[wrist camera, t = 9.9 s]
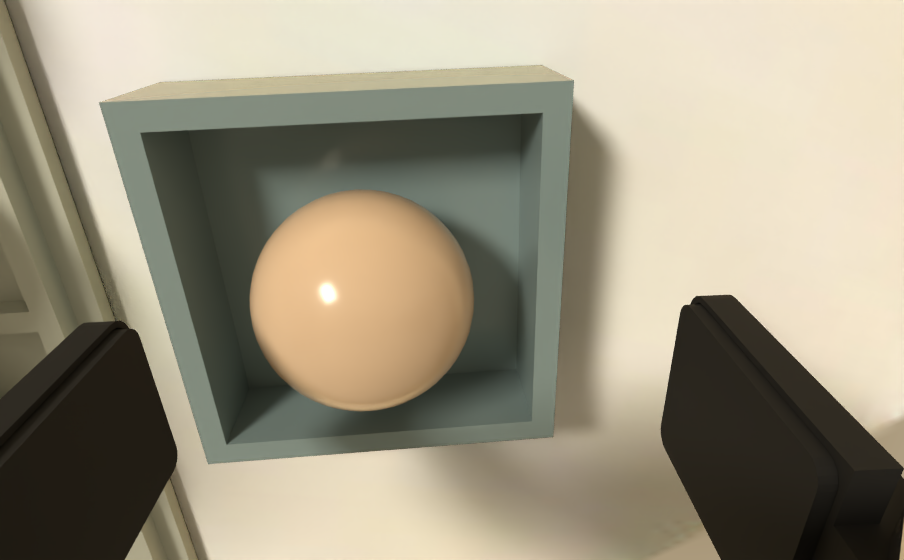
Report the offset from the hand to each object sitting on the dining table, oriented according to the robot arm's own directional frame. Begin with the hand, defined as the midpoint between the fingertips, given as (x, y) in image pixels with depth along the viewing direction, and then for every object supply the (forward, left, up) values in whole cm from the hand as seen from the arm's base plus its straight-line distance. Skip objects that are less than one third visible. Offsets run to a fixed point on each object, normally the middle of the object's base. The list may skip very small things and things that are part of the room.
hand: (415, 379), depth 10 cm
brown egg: (+1, 0, -6) cm, 6 cm away
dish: (+1, 0, -7) cm, 7 cm away
